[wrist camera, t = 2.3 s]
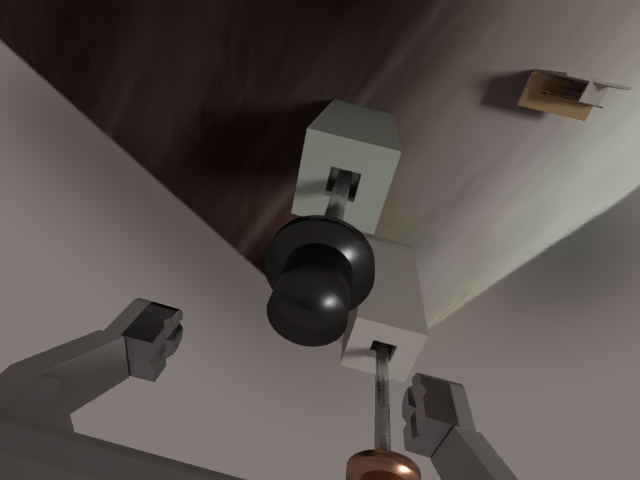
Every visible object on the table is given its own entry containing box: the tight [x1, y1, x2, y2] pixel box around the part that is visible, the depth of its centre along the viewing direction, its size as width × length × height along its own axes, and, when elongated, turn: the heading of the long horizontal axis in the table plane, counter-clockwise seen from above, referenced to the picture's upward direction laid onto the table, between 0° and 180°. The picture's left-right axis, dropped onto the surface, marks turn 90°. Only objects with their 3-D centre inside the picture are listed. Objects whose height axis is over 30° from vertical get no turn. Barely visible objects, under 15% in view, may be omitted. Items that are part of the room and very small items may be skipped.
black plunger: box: [264, 166, 375, 347], centre depth 21 cm, size 5×5×18 cm
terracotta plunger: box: [346, 340, 421, 480], centre depth 29 cm, size 5×5×18 cm
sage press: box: [292, 99, 401, 235], centre depth 33 cm, size 7×7×17 cm
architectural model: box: [517, 69, 631, 121], centre depth 33 cm, size 3×7×7 cm, turn 78°
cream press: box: [340, 234, 429, 382], centre depth 41 cm, size 7×7×17 cm
